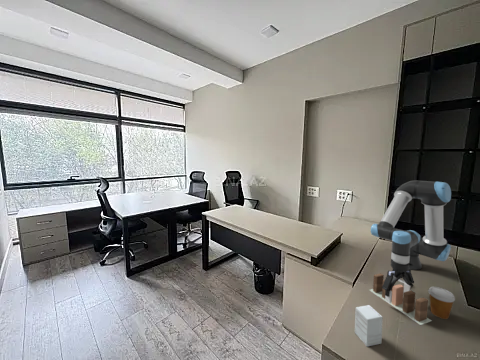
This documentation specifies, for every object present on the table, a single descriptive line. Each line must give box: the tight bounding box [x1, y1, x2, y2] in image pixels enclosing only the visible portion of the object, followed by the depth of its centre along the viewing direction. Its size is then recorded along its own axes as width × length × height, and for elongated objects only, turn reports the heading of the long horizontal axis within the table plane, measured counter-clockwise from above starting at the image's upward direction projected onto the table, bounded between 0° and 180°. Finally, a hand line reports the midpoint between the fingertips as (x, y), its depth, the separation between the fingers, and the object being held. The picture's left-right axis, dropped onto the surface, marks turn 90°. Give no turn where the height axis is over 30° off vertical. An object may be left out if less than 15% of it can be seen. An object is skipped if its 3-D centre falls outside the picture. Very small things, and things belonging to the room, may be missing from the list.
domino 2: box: [382, 279, 392, 299], centre depth 114 cm, size 2×5×10 cm, turn 107°
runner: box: [369, 288, 433, 326], centre depth 109 cm, size 8×27×1 cm, turn 17°
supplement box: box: [354, 304, 383, 347], centre depth 89 cm, size 7×7×13 cm
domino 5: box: [414, 296, 429, 322], centre depth 98 cm, size 2×5×10 cm, turn 107°
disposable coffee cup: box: [427, 286, 456, 320], centre depth 101 cm, size 10×10×12 cm
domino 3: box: [392, 283, 404, 306], centre depth 109 cm, size 2×5×10 cm, turn 107°
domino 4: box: [403, 290, 416, 313], centre depth 103 cm, size 2×5×10 cm, turn 107°
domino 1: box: [372, 273, 385, 293], centre depth 119 cm, size 2×5×10 cm, turn 107°
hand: (397, 298), depth 109 cm, fingers open, 13 cm apart
